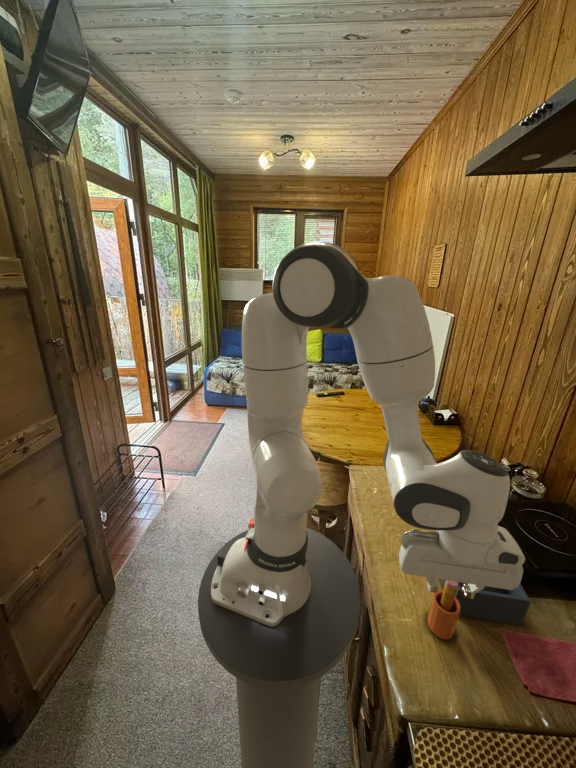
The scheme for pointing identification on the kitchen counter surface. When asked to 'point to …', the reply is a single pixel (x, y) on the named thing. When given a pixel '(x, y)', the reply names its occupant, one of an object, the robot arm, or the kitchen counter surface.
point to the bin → (494, 603)
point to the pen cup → (443, 617)
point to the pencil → (448, 595)
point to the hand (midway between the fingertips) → (449, 592)
